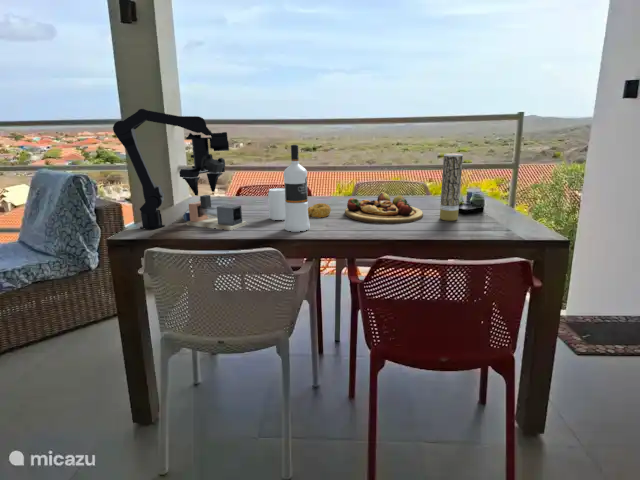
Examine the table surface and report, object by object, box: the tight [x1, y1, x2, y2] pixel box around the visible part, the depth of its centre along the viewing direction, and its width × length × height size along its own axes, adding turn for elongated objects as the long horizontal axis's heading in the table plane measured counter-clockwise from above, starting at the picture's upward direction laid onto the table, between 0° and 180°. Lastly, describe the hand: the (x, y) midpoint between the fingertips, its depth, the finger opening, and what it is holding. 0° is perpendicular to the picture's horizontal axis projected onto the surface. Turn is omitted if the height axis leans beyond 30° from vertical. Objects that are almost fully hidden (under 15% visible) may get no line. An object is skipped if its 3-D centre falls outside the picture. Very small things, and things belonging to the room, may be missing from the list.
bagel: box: [308, 202, 332, 219], centre depth 170 cm, size 10×11×5 cm
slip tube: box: [197, 194, 218, 218], centre depth 156 cm, size 15×4×8 cm, turn 64°
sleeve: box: [216, 203, 243, 226], centre depth 153 cm, size 7×6×7 cm
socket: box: [188, 200, 209, 222], centre depth 159 cm, size 4×6×7 cm, turn 154°
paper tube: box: [439, 153, 464, 222], centre depth 156 cm, size 7×7×25 cm
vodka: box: [283, 144, 311, 233], centre depth 144 cm, size 9×9×30 cm
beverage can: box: [267, 187, 286, 221], centre depth 163 cm, size 8×8×12 cm
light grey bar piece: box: [182, 208, 190, 222], centre depth 175 cm, size 5×7×25 cm
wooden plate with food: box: [344, 191, 424, 225], centre depth 168 cm, size 32×32×8 cm
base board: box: [186, 216, 248, 231], centre depth 157 cm, size 21×10×1 cm, turn 64°
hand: (205, 193), depth 156 cm, fingers open, 9 cm apart
